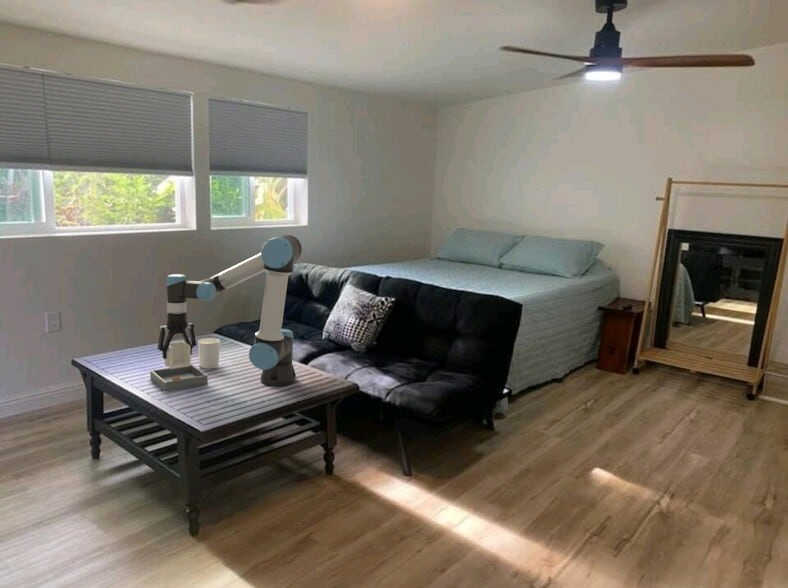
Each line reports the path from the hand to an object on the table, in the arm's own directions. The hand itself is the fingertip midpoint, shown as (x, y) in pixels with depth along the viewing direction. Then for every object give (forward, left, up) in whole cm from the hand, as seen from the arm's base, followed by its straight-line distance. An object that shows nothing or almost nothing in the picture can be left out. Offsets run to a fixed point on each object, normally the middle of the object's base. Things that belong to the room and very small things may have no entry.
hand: (177, 364), depth 236 cm
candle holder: (+13, -19, -8) cm, 24 cm away
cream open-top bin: (0, 0, 0) cm, 0 cm away
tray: (-1, 0, -7) cm, 8 cm away
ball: (-4, +2, -5) cm, 7 cm away
